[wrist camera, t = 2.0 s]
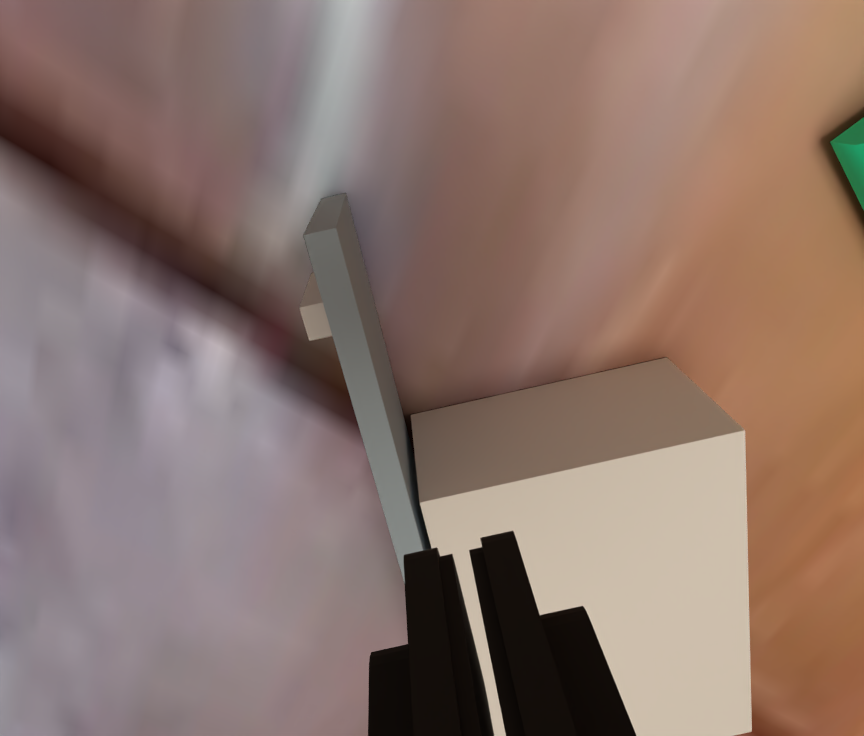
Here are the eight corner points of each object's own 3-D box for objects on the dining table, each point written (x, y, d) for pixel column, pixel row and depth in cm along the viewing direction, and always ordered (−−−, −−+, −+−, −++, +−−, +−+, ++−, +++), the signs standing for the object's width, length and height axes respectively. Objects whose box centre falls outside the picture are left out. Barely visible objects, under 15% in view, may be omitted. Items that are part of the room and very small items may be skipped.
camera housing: (410, 414, 30) (419, 502, 24) (666, 357, 30) (745, 430, 24) (478, 685, 37) (500, 809, 31) (687, 639, 37) (752, 754, 31)
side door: (296, 204, 26) (270, 242, 20) (348, 192, 26) (339, 226, 20) (438, 695, 37) (451, 823, 31) (475, 687, 37) (496, 814, 31)
